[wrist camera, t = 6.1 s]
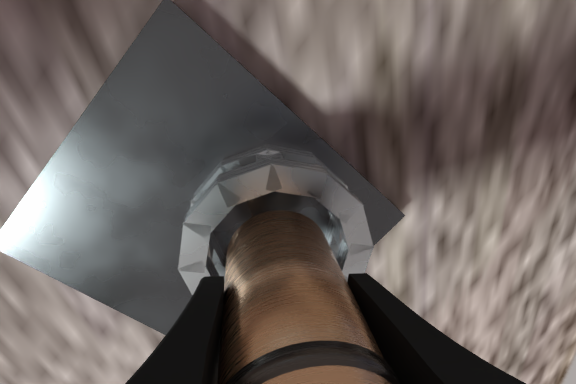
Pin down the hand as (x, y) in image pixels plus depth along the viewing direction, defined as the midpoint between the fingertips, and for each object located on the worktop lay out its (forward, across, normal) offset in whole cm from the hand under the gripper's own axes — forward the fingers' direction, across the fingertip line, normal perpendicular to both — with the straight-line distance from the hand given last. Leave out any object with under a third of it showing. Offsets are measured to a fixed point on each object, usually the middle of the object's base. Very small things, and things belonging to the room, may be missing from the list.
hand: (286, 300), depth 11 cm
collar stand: (+6, +3, 0) cm, 7 cm away
